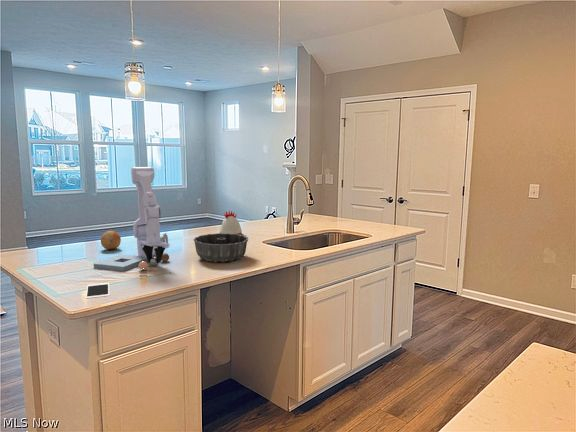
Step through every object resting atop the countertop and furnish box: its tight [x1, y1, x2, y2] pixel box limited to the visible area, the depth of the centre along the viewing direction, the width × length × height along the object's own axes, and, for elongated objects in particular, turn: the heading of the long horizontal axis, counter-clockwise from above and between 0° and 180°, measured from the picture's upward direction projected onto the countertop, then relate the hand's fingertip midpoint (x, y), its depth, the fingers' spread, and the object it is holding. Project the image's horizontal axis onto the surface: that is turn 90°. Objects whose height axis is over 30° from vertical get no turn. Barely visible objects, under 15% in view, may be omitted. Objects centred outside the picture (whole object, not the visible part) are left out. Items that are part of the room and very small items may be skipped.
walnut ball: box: [161, 252, 170, 263], centre depth 197 cm, size 4×4×4 cm
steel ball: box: [149, 256, 160, 267], centre depth 189 cm, size 4×4×4 cm
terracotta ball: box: [137, 261, 149, 271], centre depth 182 cm, size 4×4×4 cm
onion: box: [100, 230, 122, 250], centre depth 220 cm, size 10×10×10 cm
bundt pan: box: [193, 232, 249, 263], centre depth 204 cm, size 26×26×10 cm
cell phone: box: [85, 282, 111, 299], centre depth 156 cm, size 8×16×1 cm, turn 23°
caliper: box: [160, 232, 169, 243], centre depth 228 cm, size 20×1×6 cm, turn 151°
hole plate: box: [93, 253, 149, 272], centre depth 191 cm, size 18×16×2 cm
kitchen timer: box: [219, 210, 243, 236], centre depth 263 cm, size 14×14×15 cm
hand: (154, 262), depth 190 cm, fingers closed on steel ball, 4 cm apart
